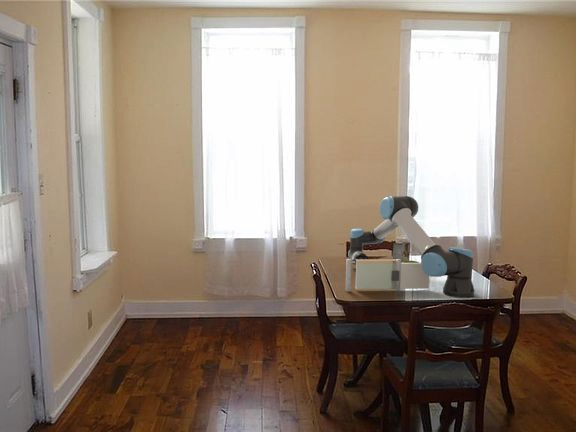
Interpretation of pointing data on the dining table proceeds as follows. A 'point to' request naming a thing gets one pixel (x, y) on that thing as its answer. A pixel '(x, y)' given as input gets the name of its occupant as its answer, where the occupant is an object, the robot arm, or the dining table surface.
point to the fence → (400, 276)
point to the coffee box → (401, 251)
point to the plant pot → (409, 261)
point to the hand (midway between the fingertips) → (371, 268)
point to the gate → (375, 274)
